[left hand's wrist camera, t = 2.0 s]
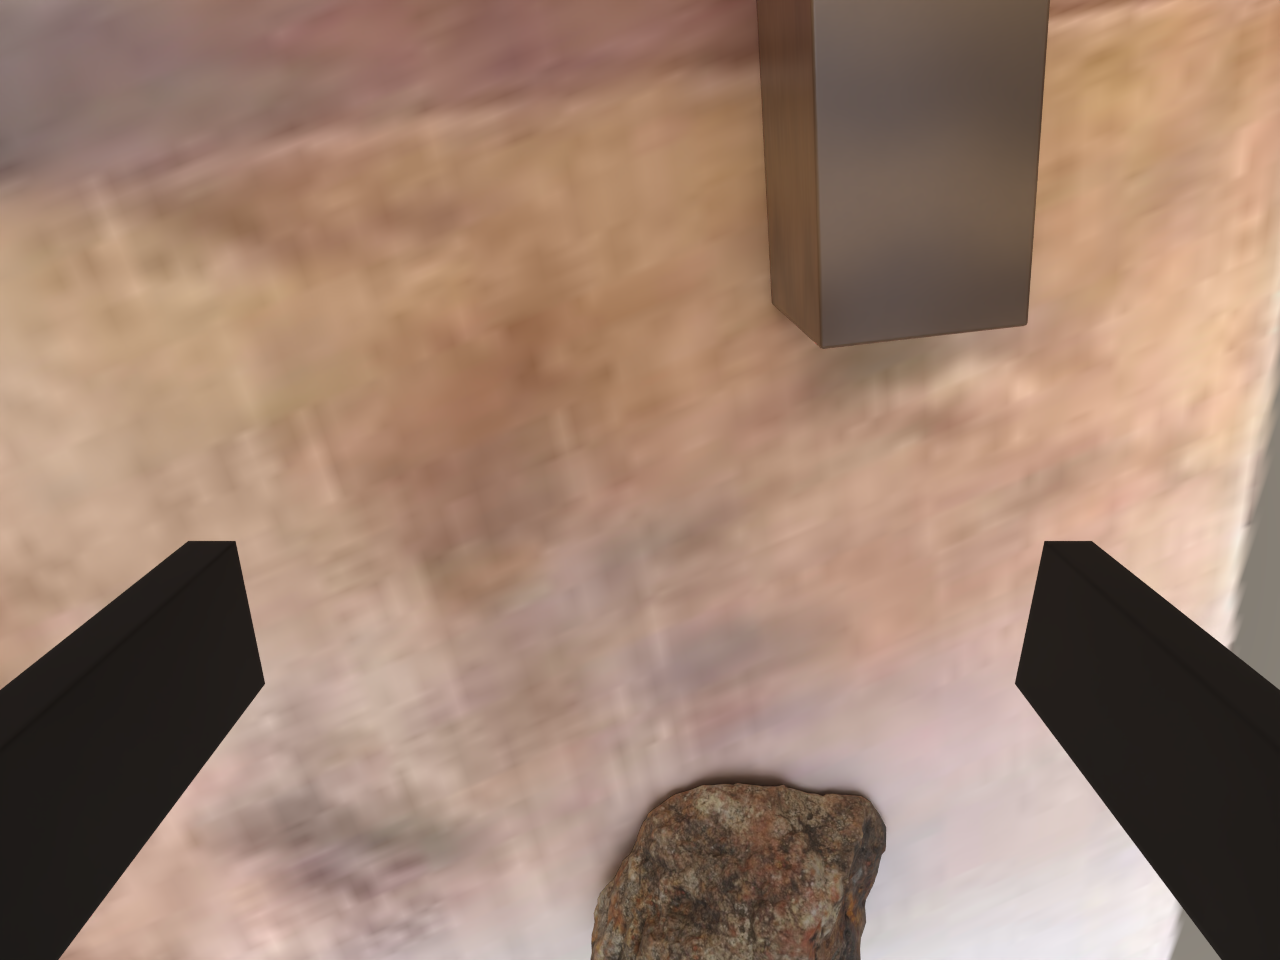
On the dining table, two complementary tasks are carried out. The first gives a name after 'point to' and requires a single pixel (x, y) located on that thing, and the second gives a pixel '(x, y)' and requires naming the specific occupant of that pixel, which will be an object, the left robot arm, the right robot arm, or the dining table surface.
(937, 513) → the dining table surface
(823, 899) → the rock
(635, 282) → the dining table surface
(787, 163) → the post
